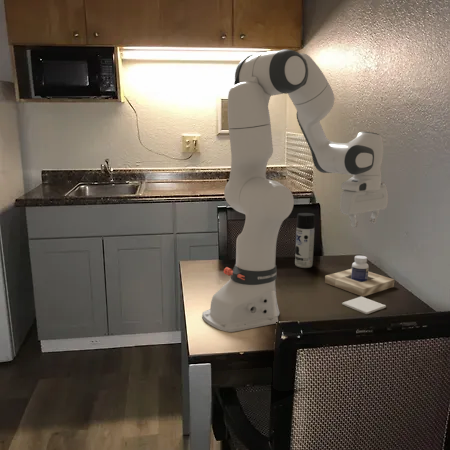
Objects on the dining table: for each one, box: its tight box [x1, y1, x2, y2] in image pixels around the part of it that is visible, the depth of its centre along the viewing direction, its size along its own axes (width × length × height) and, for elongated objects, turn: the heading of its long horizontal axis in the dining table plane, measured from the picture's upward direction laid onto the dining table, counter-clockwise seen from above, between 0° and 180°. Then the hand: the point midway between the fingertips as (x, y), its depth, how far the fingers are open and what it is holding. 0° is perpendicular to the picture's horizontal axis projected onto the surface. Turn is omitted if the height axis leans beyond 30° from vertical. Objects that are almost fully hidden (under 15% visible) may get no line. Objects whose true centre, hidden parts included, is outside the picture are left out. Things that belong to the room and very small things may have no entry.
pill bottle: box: [351, 255, 370, 282], centre depth 159 cm, size 5×5×10 cm
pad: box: [341, 296, 387, 315], centre depth 141 cm, size 9×9×1 cm
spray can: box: [294, 212, 316, 269], centre depth 178 cm, size 7×7×20 cm
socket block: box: [324, 268, 395, 298], centre depth 159 cm, size 16×16×2 cm
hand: (363, 225), depth 155 cm, fingers open, 8 cm apart
